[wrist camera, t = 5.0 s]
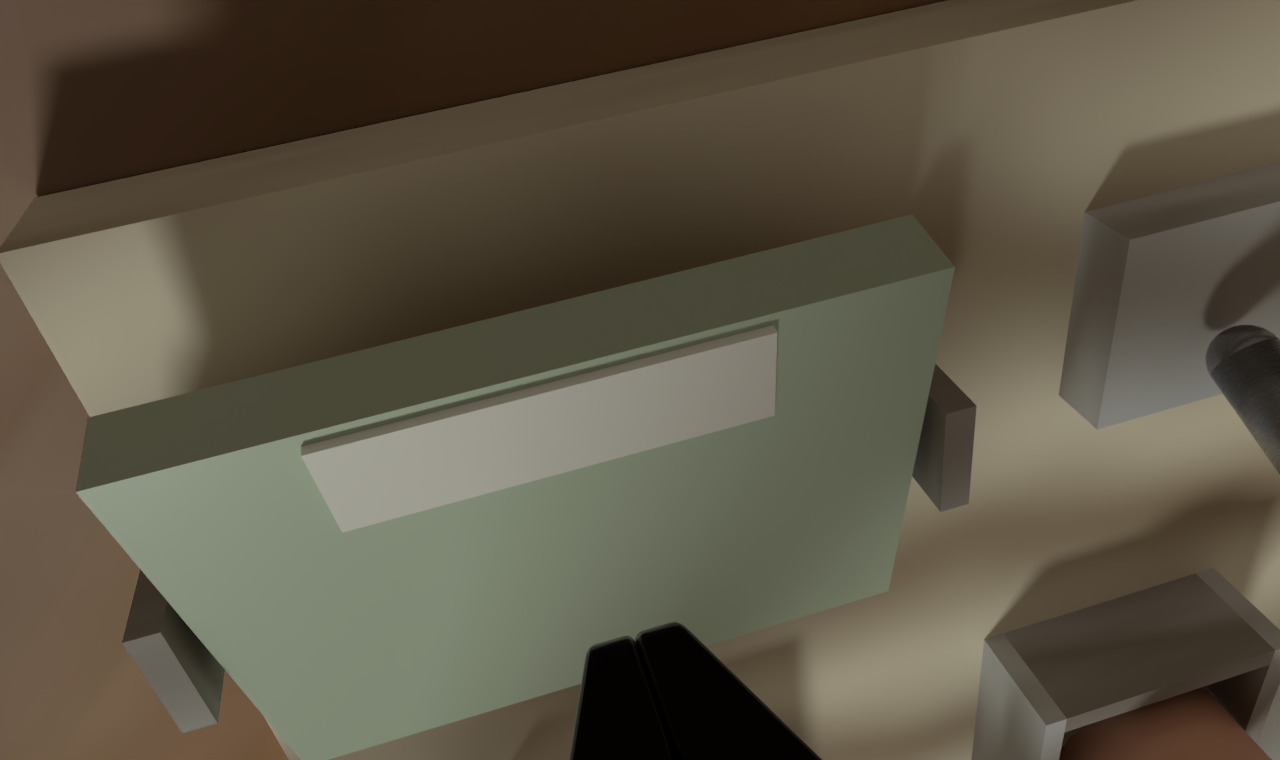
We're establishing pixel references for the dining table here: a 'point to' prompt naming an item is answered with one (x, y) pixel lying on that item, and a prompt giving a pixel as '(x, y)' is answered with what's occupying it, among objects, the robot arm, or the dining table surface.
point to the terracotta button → (1166, 733)
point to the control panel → (778, 216)
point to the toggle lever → (1250, 381)
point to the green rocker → (536, 485)
